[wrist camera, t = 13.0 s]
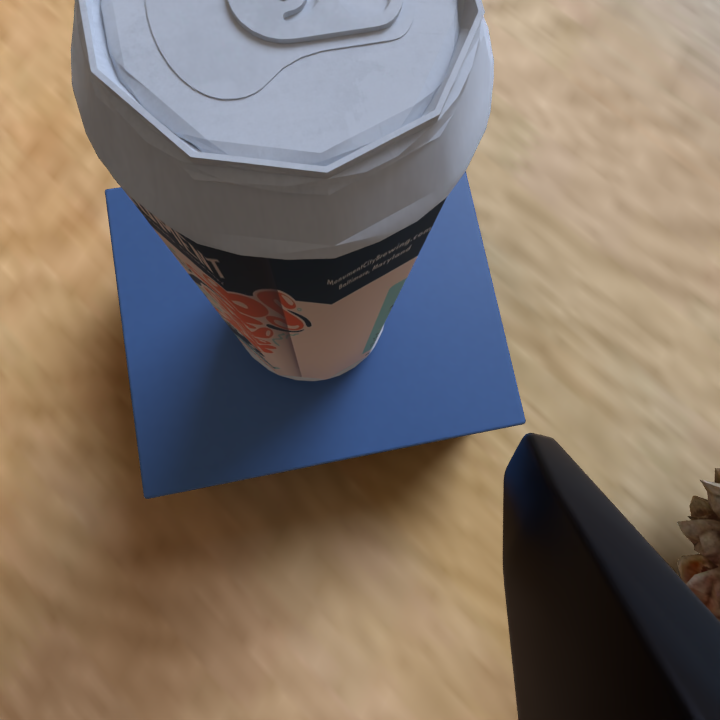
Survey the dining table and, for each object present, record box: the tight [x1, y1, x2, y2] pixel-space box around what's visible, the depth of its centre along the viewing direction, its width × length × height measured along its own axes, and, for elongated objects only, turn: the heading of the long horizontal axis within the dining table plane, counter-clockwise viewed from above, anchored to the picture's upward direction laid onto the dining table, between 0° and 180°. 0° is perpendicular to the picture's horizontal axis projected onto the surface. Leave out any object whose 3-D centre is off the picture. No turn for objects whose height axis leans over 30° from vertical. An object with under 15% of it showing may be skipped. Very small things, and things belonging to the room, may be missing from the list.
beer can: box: [71, 0, 494, 381], centre depth 11 cm, size 5×5×12 cm
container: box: [105, 171, 525, 499], centre depth 19 cm, size 10×12×5 cm
